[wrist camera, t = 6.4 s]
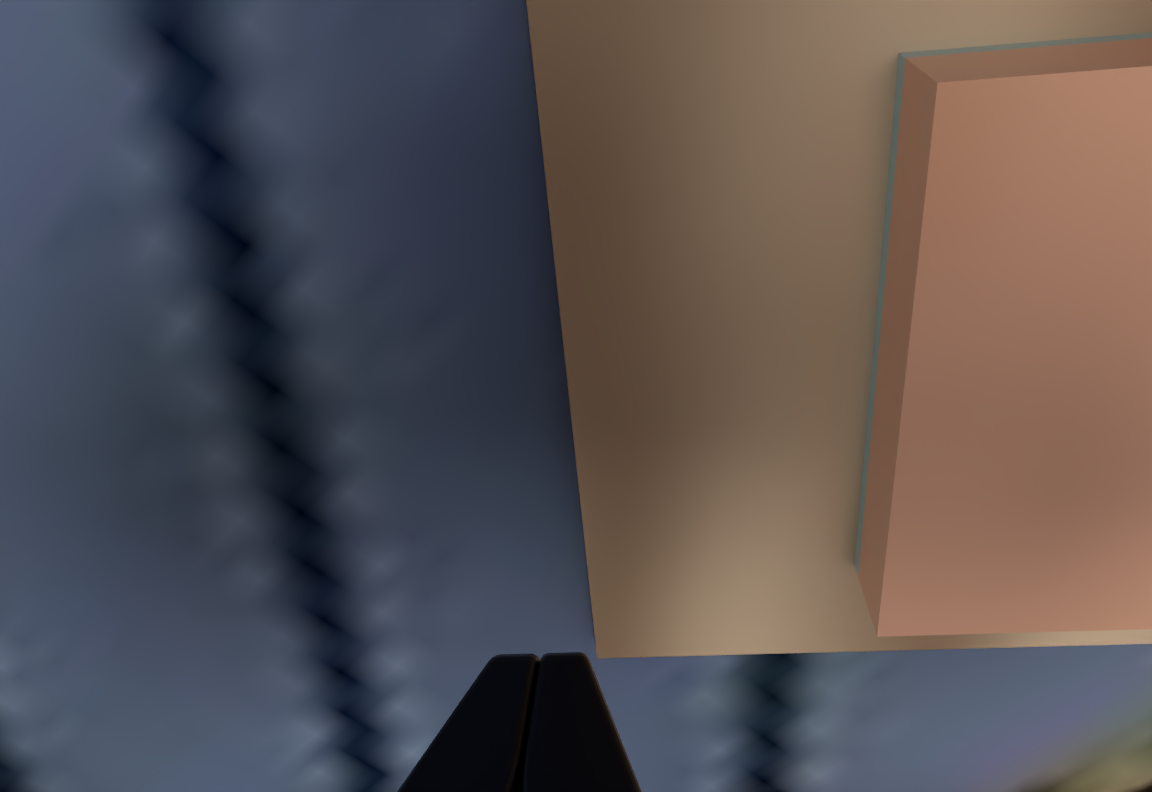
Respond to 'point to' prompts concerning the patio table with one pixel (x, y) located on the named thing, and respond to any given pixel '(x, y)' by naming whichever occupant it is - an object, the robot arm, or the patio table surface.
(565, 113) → the mat
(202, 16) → the patio table surface
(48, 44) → the patio table surface
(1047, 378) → the tile
